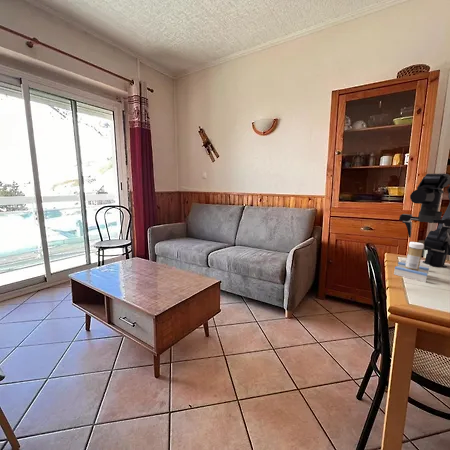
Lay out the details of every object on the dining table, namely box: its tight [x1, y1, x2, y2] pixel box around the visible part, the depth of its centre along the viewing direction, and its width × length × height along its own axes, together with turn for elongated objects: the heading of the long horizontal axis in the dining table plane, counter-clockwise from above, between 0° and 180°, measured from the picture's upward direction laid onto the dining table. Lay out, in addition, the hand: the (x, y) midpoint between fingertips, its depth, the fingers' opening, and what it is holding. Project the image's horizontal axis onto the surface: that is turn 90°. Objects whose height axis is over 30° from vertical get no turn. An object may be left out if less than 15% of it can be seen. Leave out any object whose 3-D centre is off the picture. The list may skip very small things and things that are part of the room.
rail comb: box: [393, 258, 431, 283], centre depth 99 cm, size 19×10×3 cm, turn 137°
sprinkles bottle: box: [405, 241, 424, 271], centre depth 95 cm, size 5×5×14 cm
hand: (422, 239), depth 103 cm, fingers open, 9 cm apart
